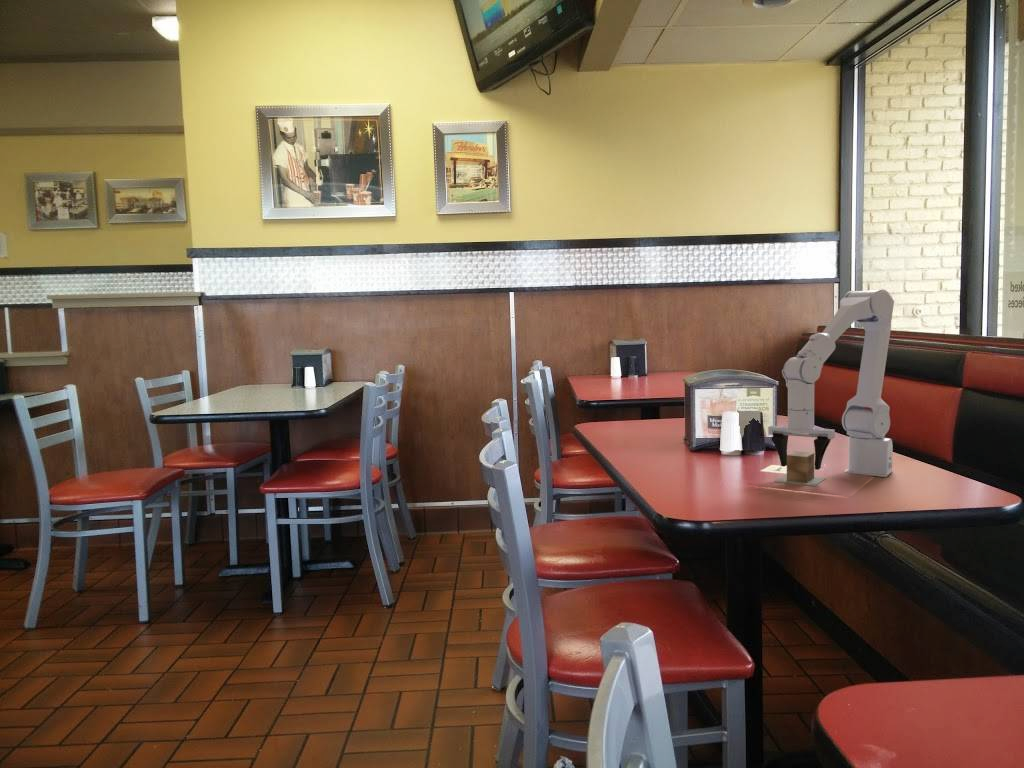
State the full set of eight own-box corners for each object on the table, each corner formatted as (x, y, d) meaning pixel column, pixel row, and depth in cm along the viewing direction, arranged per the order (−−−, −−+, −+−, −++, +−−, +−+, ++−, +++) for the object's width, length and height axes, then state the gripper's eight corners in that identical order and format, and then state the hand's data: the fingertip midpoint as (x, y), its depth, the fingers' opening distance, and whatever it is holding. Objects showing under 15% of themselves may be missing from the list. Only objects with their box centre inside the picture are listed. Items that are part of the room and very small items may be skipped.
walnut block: (814, 478, 180) (814, 452, 179) (806, 482, 175) (806, 456, 175) (794, 475, 183) (794, 451, 182) (786, 480, 178) (786, 455, 177)
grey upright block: (757, 449, 221) (757, 408, 219) (760, 452, 216) (761, 410, 215) (736, 450, 221) (735, 408, 220) (738, 452, 217) (738, 410, 216)
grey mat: (825, 480, 180) (825, 477, 180) (814, 488, 173) (814, 485, 173) (786, 476, 185) (786, 473, 185) (774, 483, 178) (774, 480, 178)
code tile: (807, 469, 192) (807, 468, 192) (796, 476, 185) (796, 474, 185) (771, 466, 197) (771, 464, 197) (759, 472, 190) (759, 471, 190)
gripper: (763, 409, 179) (763, 467, 180) (829, 413, 170) (828, 473, 171) (773, 406, 184) (773, 462, 185) (837, 409, 175) (837, 467, 177)
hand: (800, 467), depth 179 cm, fingers open, 7 cm apart
